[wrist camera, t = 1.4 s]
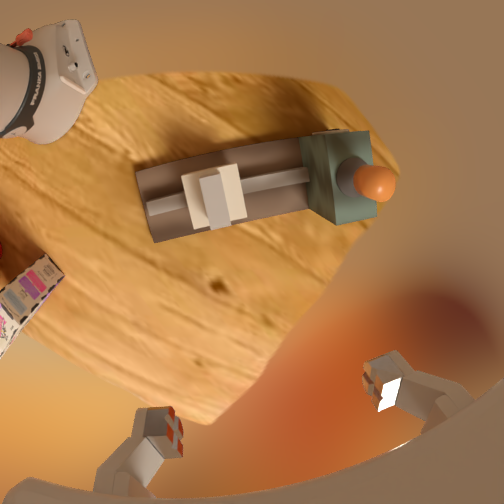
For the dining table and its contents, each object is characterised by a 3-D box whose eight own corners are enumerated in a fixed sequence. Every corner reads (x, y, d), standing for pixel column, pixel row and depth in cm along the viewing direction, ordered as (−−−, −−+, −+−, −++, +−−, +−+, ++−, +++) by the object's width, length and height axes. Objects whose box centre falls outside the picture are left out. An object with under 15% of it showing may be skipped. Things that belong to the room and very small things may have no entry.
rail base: (136, 167, 38) (110, 174, 27) (330, 130, 40) (369, 126, 29) (155, 240, 42) (139, 271, 31) (339, 200, 44) (378, 217, 33)
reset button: (351, 166, 28) (365, 168, 25) (378, 162, 28) (394, 165, 25) (354, 198, 29) (368, 204, 26) (381, 194, 29) (396, 199, 27)
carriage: (184, 173, 38) (177, 179, 30) (233, 162, 38) (240, 165, 30) (195, 220, 40) (192, 238, 32) (243, 209, 41) (252, 225, 33)
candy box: (45, 251, 40) (-7, 294, 24) (66, 275, 42) (21, 326, 26) (16, 293, 41) (-26, 338, 26) (35, 314, 43) (-3, 364, 28)
